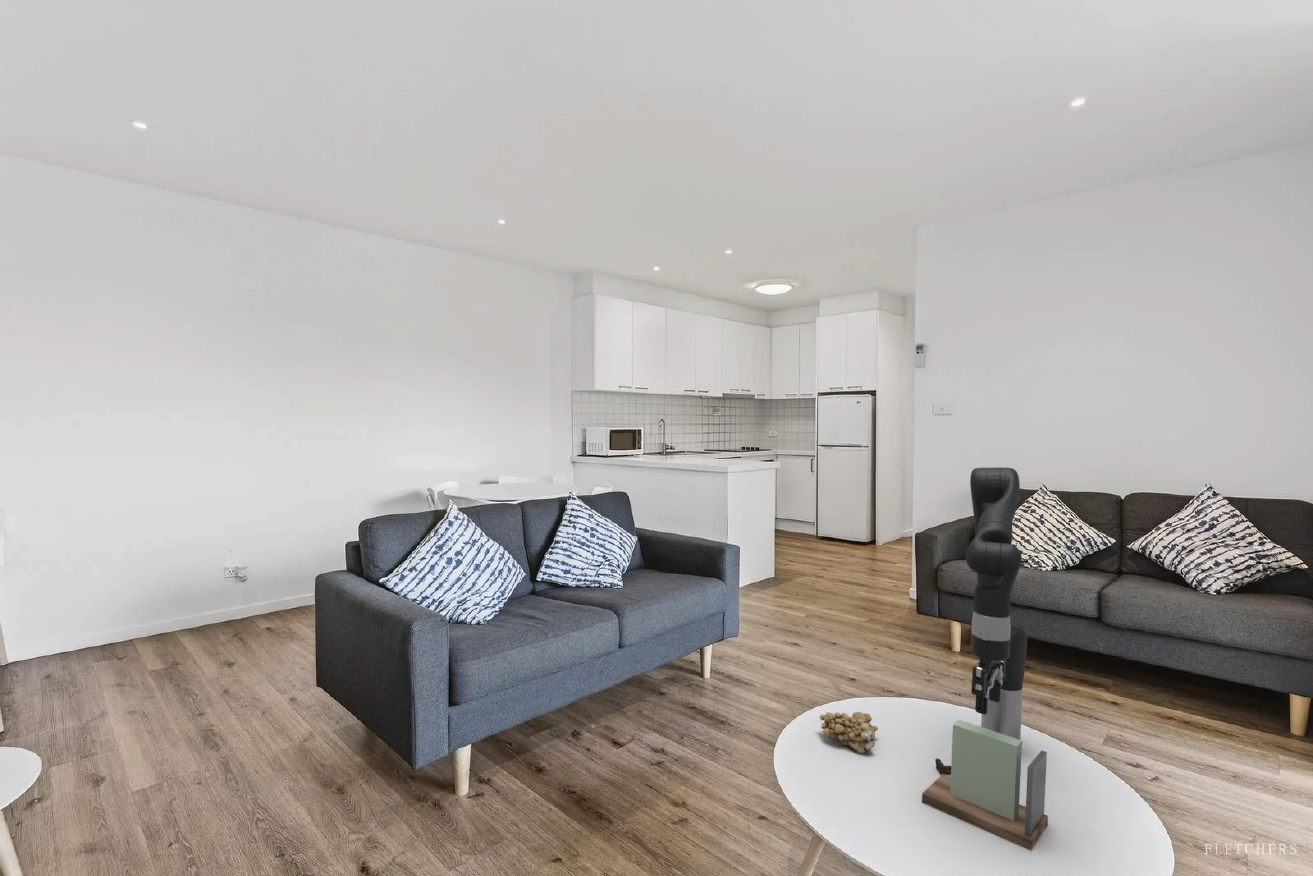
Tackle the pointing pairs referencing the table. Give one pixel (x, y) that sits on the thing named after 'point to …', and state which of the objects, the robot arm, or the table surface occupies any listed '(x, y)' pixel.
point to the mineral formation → (850, 729)
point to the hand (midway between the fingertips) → (988, 707)
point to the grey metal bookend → (1035, 793)
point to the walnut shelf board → (981, 814)
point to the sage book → (986, 769)
